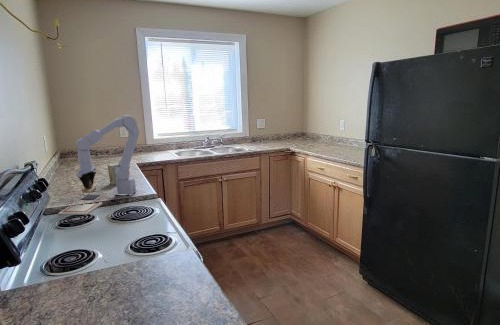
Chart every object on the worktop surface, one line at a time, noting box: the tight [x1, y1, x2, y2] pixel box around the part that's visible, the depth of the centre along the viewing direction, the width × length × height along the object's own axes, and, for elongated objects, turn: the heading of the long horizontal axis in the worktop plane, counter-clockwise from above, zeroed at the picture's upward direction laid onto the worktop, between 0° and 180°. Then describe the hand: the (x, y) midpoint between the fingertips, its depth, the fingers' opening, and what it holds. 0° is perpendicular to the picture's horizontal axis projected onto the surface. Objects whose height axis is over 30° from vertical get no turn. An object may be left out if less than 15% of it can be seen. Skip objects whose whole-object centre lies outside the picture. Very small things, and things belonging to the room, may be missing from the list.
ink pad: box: [79, 194, 103, 200], centre depth 165 cm, size 8×8×2 cm
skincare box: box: [107, 162, 119, 185], centre depth 193 cm, size 6×4×12 cm
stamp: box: [81, 179, 97, 194], centre depth 163 cm, size 5×5×6 cm
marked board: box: [57, 201, 103, 216], centre depth 152 cm, size 14×14×1 cm
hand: (88, 186), depth 163 cm, fingers closed on stamp, 3 cm apart
